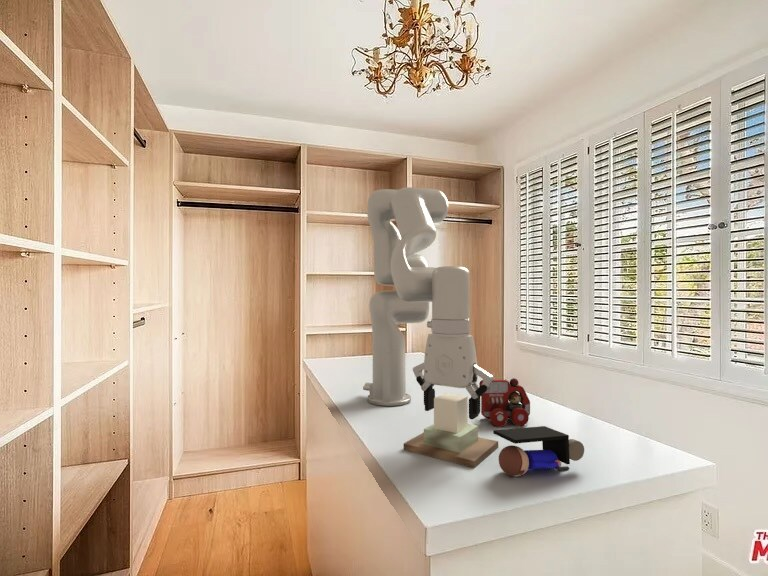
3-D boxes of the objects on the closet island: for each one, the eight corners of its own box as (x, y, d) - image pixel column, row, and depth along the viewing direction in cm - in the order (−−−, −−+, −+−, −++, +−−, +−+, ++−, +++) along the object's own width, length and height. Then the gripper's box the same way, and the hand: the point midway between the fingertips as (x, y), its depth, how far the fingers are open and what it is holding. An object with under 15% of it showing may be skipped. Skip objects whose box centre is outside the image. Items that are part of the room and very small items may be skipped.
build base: (403, 449, 83) (403, 428, 83) (432, 432, 93) (432, 413, 93) (474, 467, 75) (474, 444, 75) (498, 447, 84) (498, 426, 85)
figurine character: (555, 464, 80) (488, 468, 74) (558, 424, 80) (492, 424, 74) (584, 479, 73) (513, 484, 68) (587, 435, 74) (517, 436, 68)
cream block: (434, 428, 83) (433, 398, 83) (445, 421, 87) (445, 393, 88) (457, 433, 81) (457, 401, 81) (467, 426, 85) (467, 396, 85)
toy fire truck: (536, 425, 98) (536, 381, 98) (485, 427, 97) (485, 382, 97) (523, 417, 105) (523, 375, 105) (475, 418, 104) (475, 376, 104)
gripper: (404, 327, 86) (404, 410, 86) (484, 331, 76) (485, 426, 76) (422, 324, 92) (423, 402, 92) (499, 328, 82) (499, 416, 82)
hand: (451, 413), depth 84 cm, fingers open, 9 cm apart
